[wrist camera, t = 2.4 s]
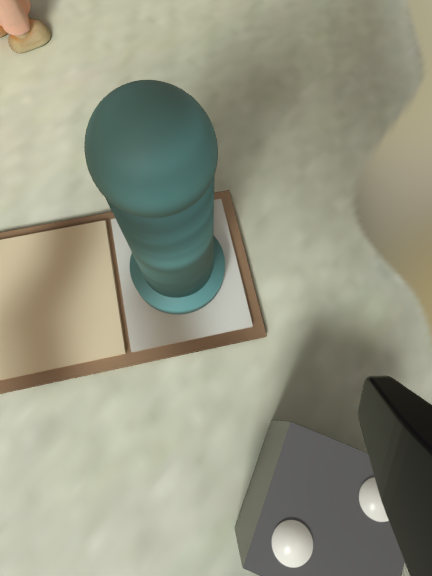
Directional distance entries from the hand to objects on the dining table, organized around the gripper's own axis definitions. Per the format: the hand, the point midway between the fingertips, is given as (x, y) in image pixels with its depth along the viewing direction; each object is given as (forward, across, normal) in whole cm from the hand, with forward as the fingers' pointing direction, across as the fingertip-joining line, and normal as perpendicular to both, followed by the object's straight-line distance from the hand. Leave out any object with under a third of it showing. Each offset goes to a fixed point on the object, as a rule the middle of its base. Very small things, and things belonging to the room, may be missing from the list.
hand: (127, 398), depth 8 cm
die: (+6, -6, +12) cm, 15 cm away
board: (+13, +6, +5) cm, 15 cm away
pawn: (+14, 0, +4) cm, 14 cm away
